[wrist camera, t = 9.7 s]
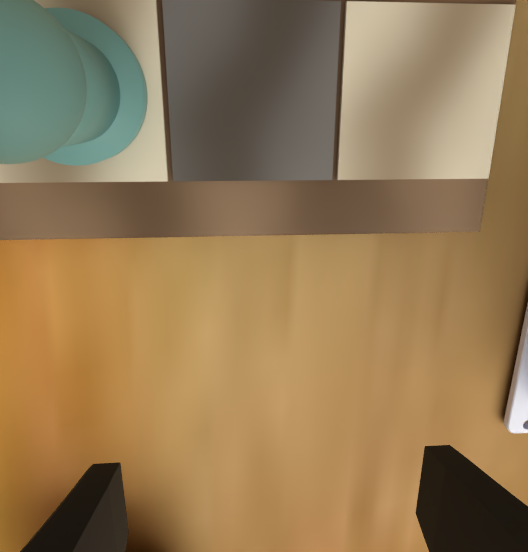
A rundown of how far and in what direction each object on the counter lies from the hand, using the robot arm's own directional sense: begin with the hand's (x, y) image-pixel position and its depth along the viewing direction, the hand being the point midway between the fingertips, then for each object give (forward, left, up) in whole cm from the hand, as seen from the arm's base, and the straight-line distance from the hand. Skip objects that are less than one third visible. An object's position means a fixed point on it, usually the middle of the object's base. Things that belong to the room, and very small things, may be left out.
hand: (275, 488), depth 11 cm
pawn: (+6, -9, -8) cm, 14 cm away
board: (+3, -9, -9) cm, 13 cm away
